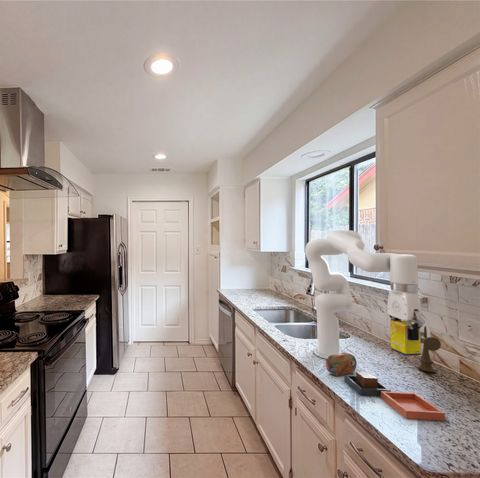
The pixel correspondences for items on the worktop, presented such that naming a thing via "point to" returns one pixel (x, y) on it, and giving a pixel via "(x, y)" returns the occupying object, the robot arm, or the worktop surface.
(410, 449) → the worktop surface
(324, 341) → the robot arm
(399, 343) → the supplement box
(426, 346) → the kendama
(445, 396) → the worktop surface
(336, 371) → the tin
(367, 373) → the walnut block
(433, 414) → the terracotta tray
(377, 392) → the charcoal tray
